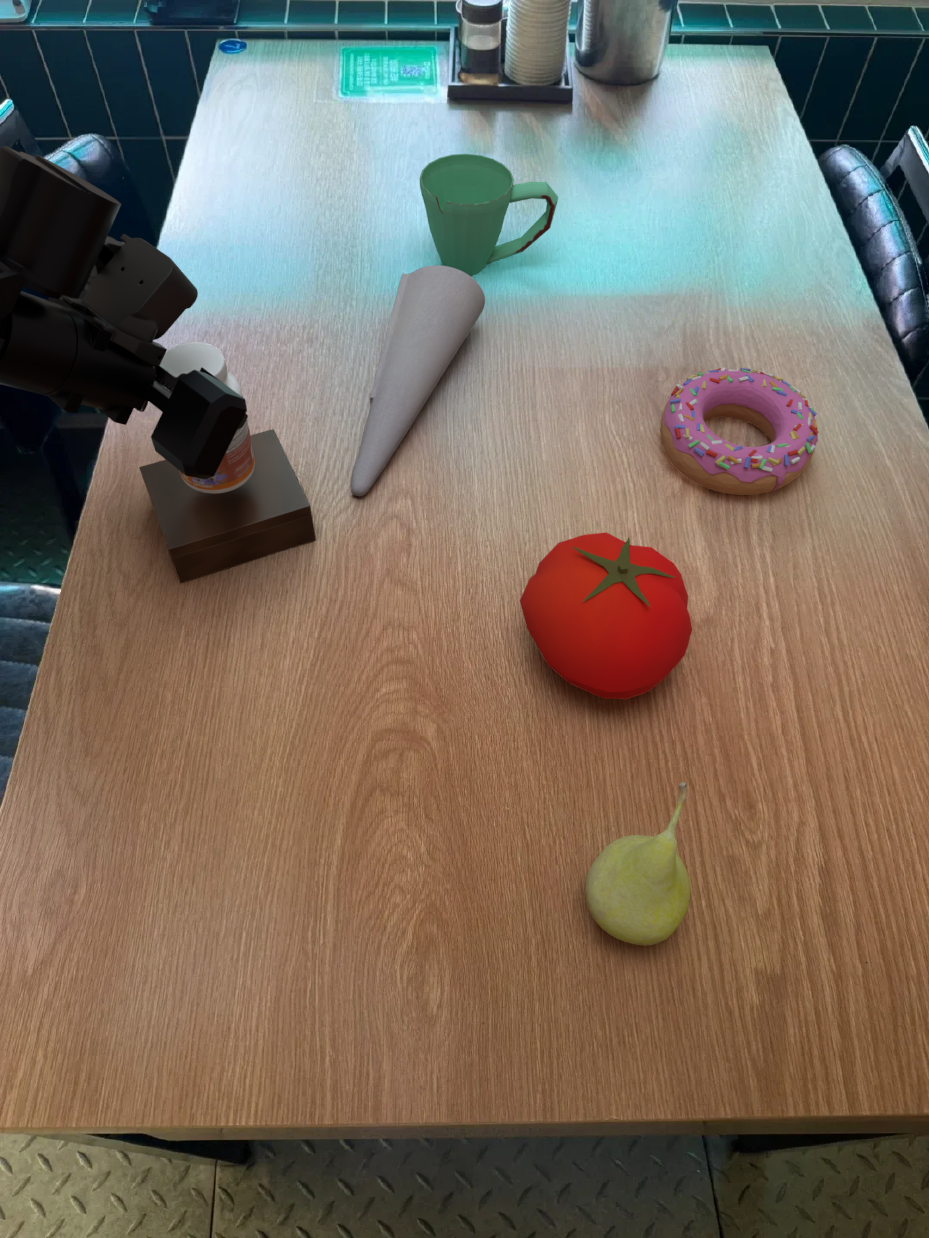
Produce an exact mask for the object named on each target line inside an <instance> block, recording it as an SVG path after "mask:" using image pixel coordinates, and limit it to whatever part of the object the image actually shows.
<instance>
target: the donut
mask: <svg viewBox="0 0 929 1238" xmlns="http://www.w3.org/2000/svg"><path fill="white" fill-rule="evenodd" d="M817 415H818V413H816V410H815V409H814V408H813V407H810V405H809V401H808V400H807V399H806V395H804V394H802V391H800V390H799V389H798V388H796V387H795V386H792V384H790V383H788V382H787V381H785V380H784V378H783V377H781V376H775V375H773V374H771V373H768V372H766V371H760V372H758V369H756V368H754V369H751V368H746V367H740V368H739V369H727V367H724V366H723V367H720V368H716V369H711V370H707V372H704V373H703V372H700V371H698V372H697V373H696V374H695V373H694V374H692V375H690V376H687V378H686V380H685V381H683V383H681V384H679V383H677V384H675V386H674V388H673V390H672V391H671V393H670V396H669V398H668V400H667V402H666V404H665V406H664V408H663V411H662V413H661V419H660V424H659V425H660V427H659V435H660V441H661V445H662V448H663V452H664V453H665V454H664V455H666V457H667V458H668V461H669V462H670V463H671V465H673V467H674V468H675V469H676V470H677V471H678V472H679V473H680V474H681V475H683V476H684V477H685V478H687V479H688V480H690V481H691V482H694V483H695V484H697V485H699V486H701V487H703V488H706V489H708V490H711V491H714V492H718V493H722V494H729V495H735V496H752V495H762V494H766V493H770V492H775V491H776V490H778V489H781V488H783V487H784V486H786V485H788V484H790V483H791V482H793V481H794V480H795V479H796V478H798V477H799V476H800V475H801V474H802V473H803V472H804V471H805V469H806V468H807V467H808V465H809V464H810V463H811V461H812V459H813V456H814V453H815V450H816V446H817V443H818V442H819V439H818V437H819V431H818V425H817V420H816V418H815V417H816V416H817ZM715 418H730V419H736V420H740V421H743V422H746V423H749V424H750V425H753V426H754V427H756V428H757V429H759V430H760V431H761V432H763V433H764V434H765V435H766V436H767V438H768V439H769V440H770V443H769V444H765V445H762V446H743V445H739V444H735V443H732V442H729V441H727V440H725V439H723V438H721V436H720V437H719V436H718V435H717V434H715V433H714V432H713V431H712V430H711V429H710V428H709V426H708V425H707V424H706V422H705V421H707V420H710V419H715Z"/></svg>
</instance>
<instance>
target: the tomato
mask: <svg viewBox="0 0 929 1238" xmlns="http://www.w3.org/2000/svg"><path fill="white" fill-rule="evenodd" d="M519 603H520V607H521V610H522V614H523V618H524V622H525V626H526V629H527V631H528V633H529V635H530V637H531V638H532V640H533V642H534V643H535V646H536V647H537V649H538V650H539V653H540V654H541V656H542V658H543V659H544V661H545V663H546V664H547V665H548V666H549V667H550V668H551V669H552V670H553V671H554V672H555V673H557V675H559V676H560V677H561V678H562V679H563V681H565V682H566V683H568V684H569V685H572V686H574V687H575V688H578V689H580V690H583V691H585V692H588V693H589V694H592V695H594V696H595V697H599V698H600V699H604V700H605V699H606V700H607V699H608V700H609V699H611V700H628V699H631V698H634V697H638V696H640V695H643V694H646V693H648V692H650V691H651V690H653V689H654V688H655V687H656V686H657V685H658V684H659V685H660V683H662V682H663V681H665V679H666V678H667V677H668V676H669V674H670V673H671V672H672V671H673V670H674V669H675V668H676V666H677V665H679V663H680V662H681V661H682V659H683V658H684V657H685V655H686V653H687V650H688V646H689V643H690V641H691V635H692V632H693V626H692V620H691V616H690V613H689V610H688V604H689V595H688V592H687V589H686V585H685V582H684V579H683V576H682V574H681V572H680V570H679V569H678V567H677V565H676V564H675V563H674V562H673V561H671V560H670V559H668V558H667V557H666V556H664V555H663V554H662V553H660V552H659V551H657V550H656V549H655V548H654V547H652V546H645V545H644V546H643V545H634V544H631V541H630V536H628V538H627V539H626V541H624V540H622V539H620V538H618V537H616V536H614V535H613V534H611V533H608V532H606V531H605V532H597V533H588V534H587V533H586V534H583V535H578V536H575V537H573V538H569V539H566V540H563V541H559V542H557V544H555V546H553V548H552V549H551V550H549V552H548V553H547V554H546V555H545V556H544V557H543V558H542V559H541V560H540V561H539V563H538V564H537V567H536V570H535V573H534V574H533V575H532V576H531V577H530V578H529V579H528V582H527V583H526V586H525V588H524V590H523V592H522V594H521V597H520V599H519Z"/></svg>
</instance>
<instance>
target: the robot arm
mask: <svg viewBox="0 0 929 1238" xmlns="http://www.w3.org/2000/svg"><path fill="white" fill-rule="evenodd" d="M121 206H122V203H121V202H120V201H118V200H117V199H116V198H114V197H112V195H110V194H108V193H107V192H105V191H104V190H102V189H101V188H98V187H97V186H96V185H93V184H92V183H90V182H88V181H87V180H85V179H83V178H82V177H80V176H78V175H76V174H74V173H73V172H71V171H70V170H67V169H65V168H64V167H62V166H61V165H59V164H56V163H55V162H53V161H51V160H49V159H47V158H45V157H43V156H42V155H39V154H36V155H35V156H34V155H31V154H28V153H26V152H24V151H18V150H14V149H13V148H11V147H9V146H7V145H4V146H1V147H0V385H3V386H5V387H9V388H14V389H18V390H23V391H26V392H30V393H35V394H38V395H42V396H45V397H48V399H50V400H51V401H52V402H53V403H54V404H56V405H57V406H58V407H59V408H61V410H63V411H65V412H69V413H74V414H78V411H79V409H80V407H81V405H82V406H85V407H90V408H94V409H98V411H100V412H101V413H103V414H104V415H105V416H106V417H107V418H109V419H110V420H111V421H112V422H113V423H116V424H120V425H124V426H126V425H127V424H128V422H129V420H130V418H131V416H132V413H133V411H134V409H135V410H136V411H138V412H140V413H144V412H145V410H146V409H147V406H148V404H149V403H150V404H151V405H153V406H154V407H155V408H156V409H158V410H159V411H160V412H161V415H160V416H159V419H158V421H157V422H156V424H155V427H154V429H153V431H152V434H151V436H150V439H151V442H152V445H153V448H154V451H155V452H156V453H157V454H158V455H160V456H161V458H163V459H164V460H167V461H168V462H170V463H171V464H172V465H173V466H174V467H176V468H177V469H178V470H179V471H181V472H182V473H183V474H184V475H186V476H190V477H195V478H200V479H208V478H211V477H214V475H215V473H216V471H217V469H218V467H219V465H220V463H221V461H222V459H223V457H224V455H225V453H226V452H227V450H228V448H229V446H230V444H231V442H232V440H233V438H234V436H235V434H236V432H237V430H238V429H240V428H242V427H243V426H244V424H245V422H246V420H247V421H248V418H249V415H248V414H247V412H248V409H247V402H246V398H244V396H243V397H242V396H240V395H239V394H238V393H236V392H235V391H233V390H232V389H231V388H229V387H228V386H227V385H225V384H224V383H223V382H222V381H220V380H219V379H217V378H216V377H215V376H213V375H212V374H211V373H209V372H208V371H207V370H205V369H204V368H203V367H202V368H201V369H200V371H197V370H193V371H191V372H189V373H187V374H186V373H182V374H180V375H179V376H178V377H176V376H174V375H173V374H172V373H170V372H169V371H168V370H166V369H165V368H164V367H162V366H161V365H160V364H161V362H162V359H163V357H164V355H165V353H166V352H167V351H168V349H167V348H166V347H165V346H163V345H162V344H161V343H160V342H156V341H155V340H159V339H160V338H162V337H163V336H165V334H166V333H167V332H168V331H169V330H170V328H171V327H172V326H173V325H174V324H175V323H176V322H177V320H178V319H179V318H180V317H181V316H182V314H184V312H185V311H186V310H188V309H191V308H192V306H193V305H194V304H195V303H196V301H197V299H198V295H199V292H198V291H199V290H198V289H197V287H196V286H195V284H193V282H192V281H191V280H190V279H189V278H188V276H187V275H186V274H185V273H184V272H183V271H182V269H180V267H179V266H178V265H177V264H176V263H175V261H174V260H173V258H171V256H169V255H167V254H165V253H164V252H163V251H161V250H159V249H158V248H157V247H155V246H154V245H153V244H151V243H149V242H148V241H146V240H145V239H143V238H141V237H133V238H131V237H130V236H128V235H127V234H125V233H123V234H122V235H121V236H120V238H119V239H120V240H121V241H120V240H119V241H118V240H116V239H115V238H113V237H112V236H108V235H109V233H110V231H111V229H112V226H113V224H114V222H115V219H116V217H117V215H118V213H119V211H120V208H121ZM23 288H26V289H29V290H31V291H33V292H35V293H37V294H40V295H43V296H45V297H48V299H46V298H43V297H39V296H36V295H34V294H31V293H29V292H25V291H22V289H23ZM162 385H163V386H162ZM164 387H166V388H164ZM168 390H170V391H168ZM171 392H172V393H171Z"/></svg>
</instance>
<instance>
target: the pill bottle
mask: <svg viewBox="0 0 929 1238" xmlns="http://www.w3.org/2000/svg"><path fill="white" fill-rule="evenodd" d="M160 365H161V366H162V367H164V368H165V369H166V370H168V371H169V372H170V373H172V374H173V375H174V376H176V377H178V376H179V375H180V374H182V373H186V374H187V373H189V372H191V371H193V370H197V371H200V369H201V368H202V367H203V368H204V369H205V370H207V371H208V372H209V373H211V374H212V375H213V376H215V377H216V378H217V379H219V380H220V381H222V382H223V383H224V384H225V385H227V386H228V387H229V388H231V389H232V390H233V391H235V392H236V393H238V394H239V395H240V396H242V397H243V398H244V395H243V391H242V387H241V384H240V383H239V380H238V379H237V378H236V377H235V376H234V375H233V374H232V373H231V372H229V370H228V366H227V362H226V360H225V355H224V353H223V352H222V351H221V349H219V348H218V347H216V346H215V345H213V344H210V343H207V342H202V341H189V342H183V343H180V344H177V345H175V346H173V347H171V348H169V349H167V351H166V353H165V355H164V357H163V359H162V362H161V364H160ZM162 386H163V385H162ZM164 388H166V387H164ZM168 391H170V390H168ZM171 393H172V392H171ZM250 435H251V433H250V427H249V422H248V419H247V420H246V422H245V424H244V426H243V427H242V428H240V429H238V430H237V432H236V434H235V436H234V438H233V440H232V442H231V444H230V446H229V448H228V450H227V452H226V453H225V455H224V457H223V459H222V461H221V463H220V465H219V467H218V469H217V471H216V473H215V475H214V477H211V478H208V479H200V478H195V477H190V476H186V475H184V474H183V473H182V472H181V471H179V472H180V475H181V477H182V479H183V480H184V482H185V483H186V484H187V485H188V486H190V487H191V488H193V489H195V490H197V491H200V492H204V493H224V492H229V491H232V490H234V489H237V488H238V487H240V486H242V485H243V484H244V483H245V482H246V481H247V480H248V479H249V478H250V477H251V475H252V473H253V471H254V467H255V458H254V452H253V447H252V442H251V437H250Z"/></svg>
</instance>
